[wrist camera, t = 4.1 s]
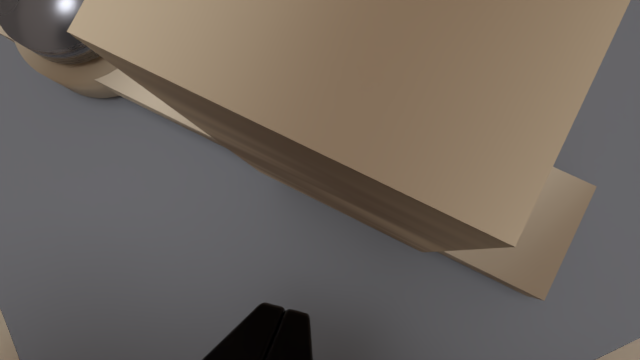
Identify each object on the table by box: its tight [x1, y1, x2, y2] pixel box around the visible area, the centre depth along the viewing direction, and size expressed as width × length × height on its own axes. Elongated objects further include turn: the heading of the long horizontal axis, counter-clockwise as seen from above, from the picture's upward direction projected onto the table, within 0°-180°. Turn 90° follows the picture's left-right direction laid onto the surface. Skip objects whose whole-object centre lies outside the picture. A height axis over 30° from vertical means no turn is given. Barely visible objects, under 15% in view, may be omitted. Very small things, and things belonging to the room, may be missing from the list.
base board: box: [0, 0, 640, 360], centre depth 17 cm, size 22×19×1 cm
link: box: [0, 0, 630, 301], centre depth 11 cm, size 16×4×10 cm, turn 63°
